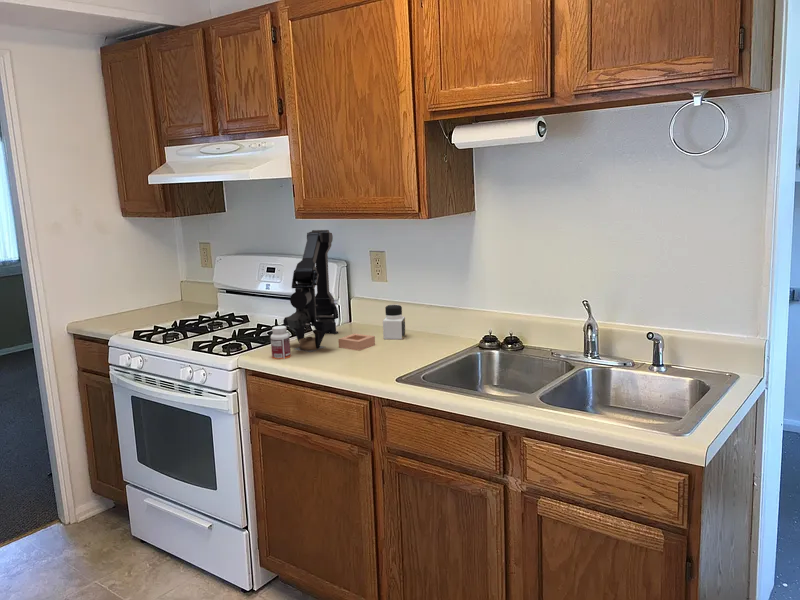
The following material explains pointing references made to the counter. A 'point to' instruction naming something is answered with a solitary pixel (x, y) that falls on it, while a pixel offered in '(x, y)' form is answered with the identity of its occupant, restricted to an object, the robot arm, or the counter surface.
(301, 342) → the walnut lid
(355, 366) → the counter surface
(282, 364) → the counter surface
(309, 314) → the robot arm
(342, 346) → the salmon pink square box
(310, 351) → the coaster mat
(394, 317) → the medicine bottle
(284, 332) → the pill bottle
